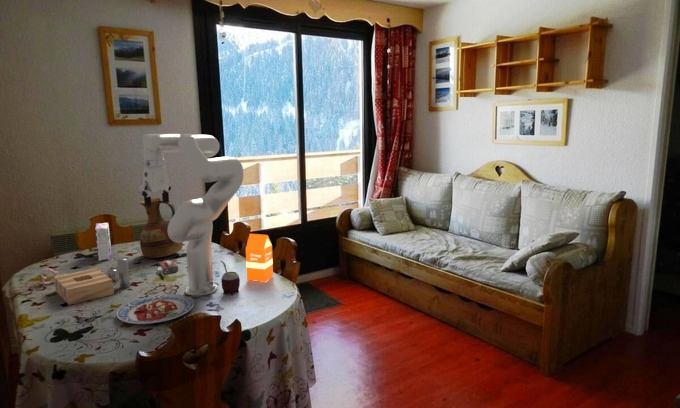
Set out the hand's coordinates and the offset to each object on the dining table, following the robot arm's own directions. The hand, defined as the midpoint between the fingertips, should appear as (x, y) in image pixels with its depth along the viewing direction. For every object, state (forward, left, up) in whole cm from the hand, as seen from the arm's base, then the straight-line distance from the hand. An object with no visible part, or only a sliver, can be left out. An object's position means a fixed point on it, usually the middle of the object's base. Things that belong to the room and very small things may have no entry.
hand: (157, 204), depth 195 cm
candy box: (+53, +8, -33) cm, 63 cm away
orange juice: (-30, -30, -33) cm, 54 cm away
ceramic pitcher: (+35, -14, -33) cm, 50 cm away
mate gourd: (-36, -12, -33) cm, 51 cm away
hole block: (+6, +30, -33) cm, 45 cm away
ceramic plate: (-34, +17, -34) cm, 51 cm away
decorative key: (+26, +30, -34) cm, 52 cm away
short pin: (+12, +17, -33) cm, 39 cm away
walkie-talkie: (+8, -6, -34) cm, 35 cm away
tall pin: (+1, +16, -33) cm, 37 cm away
